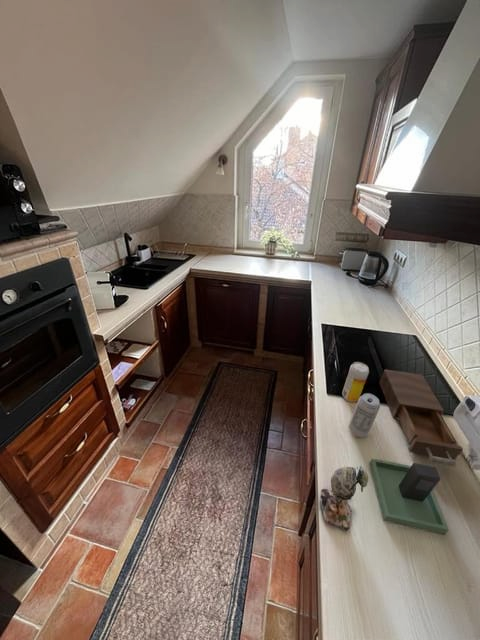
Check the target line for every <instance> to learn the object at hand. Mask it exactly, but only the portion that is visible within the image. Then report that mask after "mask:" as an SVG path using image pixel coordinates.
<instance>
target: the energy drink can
mask: <svg viewBox="0 0 480 640" xmlns="http://www.w3.org/2000/svg"><path fill="white" fill-rule="evenodd" d="M356 402H357V403H356V405H355V408H354V410H353V412H352V416H351V419H350V420H349V421H350V422H349V424H348V428H349V430H350V433H351V434H352V435H353V436H354V437H357V438H366V437H367V436H368V435H369V433H370V432H371V429H372V427H373V425H374V422H375V420H376V418H377V416H378V413H379V411H380V409H381V404H380V399H379V398H378V397H377V396H376V395H375V394H372V393H369V392H366V393H365V392H364V393H363V394H362V395H360V397H359V400H358V401H356Z"/></svg>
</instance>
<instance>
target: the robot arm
mask: <svg viewBox="0 0 480 640" xmlns="http://www.w3.org/2000/svg"><path fill="white" fill-rule="evenodd" d="M453 420H454V421H455V423H456V425H457V426H458V428H459V429H460V431H461V432H462V434H463V435H464V437H465V439H466V440H467V442H468V443H467V453H466V454H465V456H464V458H465V459H466V461H467V462H468V465H469V466H470V468H471V469H472V470H474V471H475V470H476V471H479V470H480V395H475V394H465V395H464V397H463V400H462V401H460V402H459V404H458V405H457V407H456V408H455V410H454V411H453Z"/></svg>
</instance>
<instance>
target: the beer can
mask: <svg viewBox="0 0 480 640" xmlns="http://www.w3.org/2000/svg"><path fill="white" fill-rule="evenodd" d="M369 373H370V370H369V366H368V364H365V363H364V362H361V361H354V362H353V363H352V364H351V365H350V367H349V370H348V372H347V376H346V379H345V383H344V386H343V389H342V391H341V395H342V397H343V398H344V400H346V401H347V402H349V403H355V402H358V400H359V398H360V397H361V396H362V395H361V394H362V392H363V389H364V386H365V384H366V382H367V379H368V376H369Z"/></svg>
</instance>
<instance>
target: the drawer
mask: <svg viewBox="0 0 480 640" xmlns="http://www.w3.org/2000/svg"><path fill="white" fill-rule="evenodd" d="M397 415H398V417H399V419H398V420H399V423H400V425H401V427H402V430H403V432H404V434H405V437H406V439H407V442H408V444H409V446H408V448H407V449H408V452H410V453H415V454H419V455H424V456H428V460H429V461H430V463H436V464H441V465H444V466H445V465H446V466H450V467H451V466H452V467H456V465H457V463H456V459H457V458H458V457H459V455H460V454H461V453H462V451H464V449H463V447H462V446H461V445H458V444H455V443H456V440H455V438H454V436H453V435H452V433H451V431H450V430H449V428H448V426H447V424H446V423H445V421H444V420H443V418H442V415H441V416H440V414H439V413H438V412H437V411H431V410H425V409H419V408H412V407H406V406H401V407H400V409H399V411H398V413H397Z"/></svg>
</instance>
